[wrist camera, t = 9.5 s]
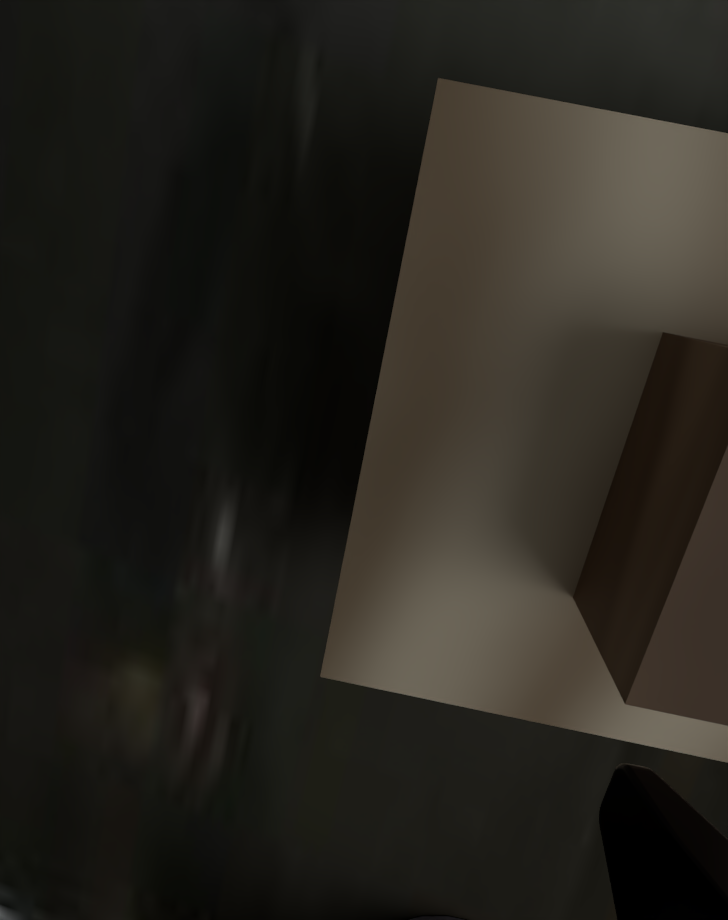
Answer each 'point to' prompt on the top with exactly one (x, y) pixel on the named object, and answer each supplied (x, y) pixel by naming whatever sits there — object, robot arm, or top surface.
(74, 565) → the top surface
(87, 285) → the top surface
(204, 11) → the top surface
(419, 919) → the aerosol can
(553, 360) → the birch lid
